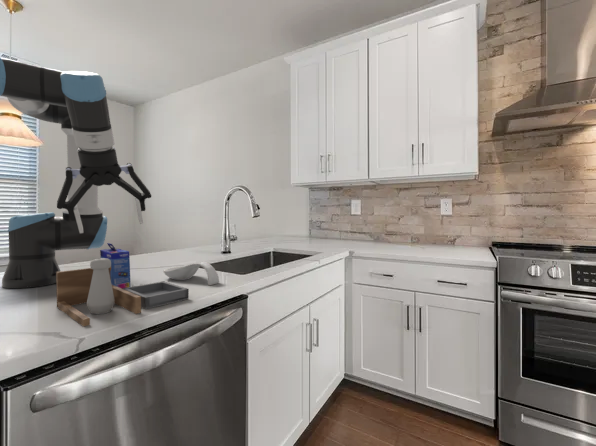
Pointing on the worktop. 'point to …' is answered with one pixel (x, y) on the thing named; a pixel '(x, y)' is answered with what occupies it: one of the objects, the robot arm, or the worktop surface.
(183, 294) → the tray
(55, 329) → the worktop surface
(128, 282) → the ink cartridge box
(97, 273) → the salt shaker
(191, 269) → the spoon rest
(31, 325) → the worktop surface
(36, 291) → the worktop surface
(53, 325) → the worktop surface
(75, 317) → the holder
